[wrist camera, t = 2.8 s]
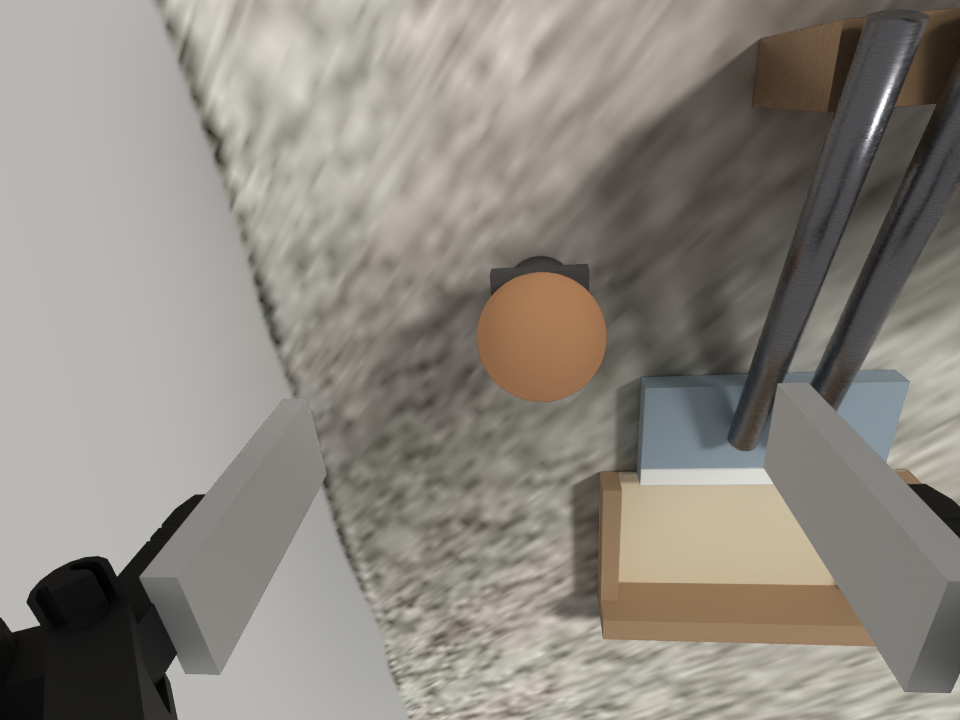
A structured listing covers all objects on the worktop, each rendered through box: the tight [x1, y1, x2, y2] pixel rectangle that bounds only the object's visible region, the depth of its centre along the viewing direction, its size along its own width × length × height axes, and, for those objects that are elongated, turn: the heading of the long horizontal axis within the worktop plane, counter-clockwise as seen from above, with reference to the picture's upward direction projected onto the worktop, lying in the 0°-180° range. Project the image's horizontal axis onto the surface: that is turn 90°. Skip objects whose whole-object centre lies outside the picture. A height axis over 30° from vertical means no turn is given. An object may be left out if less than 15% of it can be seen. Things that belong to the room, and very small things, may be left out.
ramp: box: [727, 8, 960, 451], centre depth 21 cm, size 18×4×8 cm, turn 5°
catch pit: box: [598, 469, 921, 646], centre depth 31 cm, size 10×16×3 cm, turn 95°
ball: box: [477, 272, 607, 402], centre depth 21 cm, size 5×5×5 cm
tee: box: [490, 256, 589, 296], centre depth 25 cm, size 4×4×4 cm
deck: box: [636, 370, 910, 485], centre depth 28 cm, size 6×12×1 cm, turn 95°
